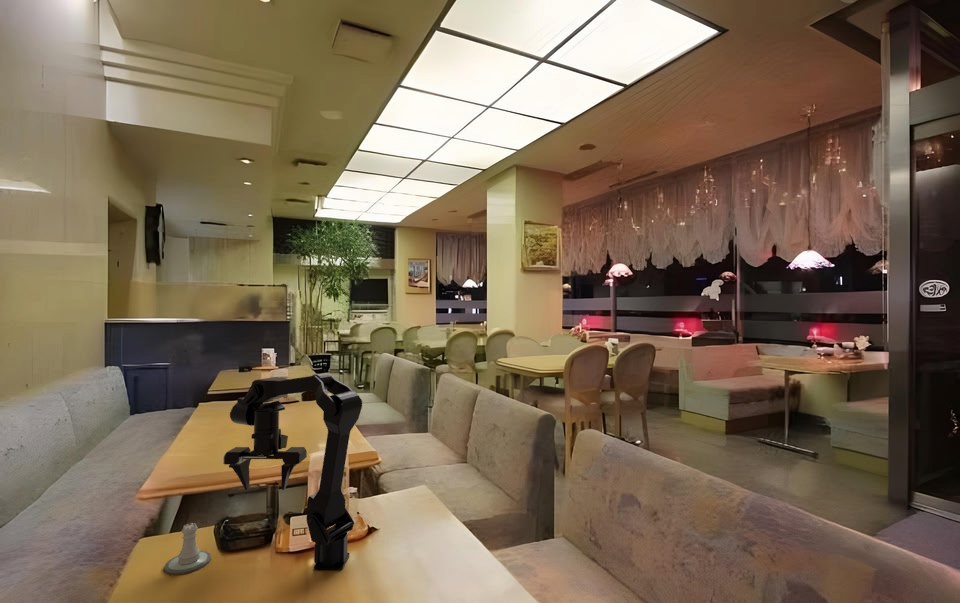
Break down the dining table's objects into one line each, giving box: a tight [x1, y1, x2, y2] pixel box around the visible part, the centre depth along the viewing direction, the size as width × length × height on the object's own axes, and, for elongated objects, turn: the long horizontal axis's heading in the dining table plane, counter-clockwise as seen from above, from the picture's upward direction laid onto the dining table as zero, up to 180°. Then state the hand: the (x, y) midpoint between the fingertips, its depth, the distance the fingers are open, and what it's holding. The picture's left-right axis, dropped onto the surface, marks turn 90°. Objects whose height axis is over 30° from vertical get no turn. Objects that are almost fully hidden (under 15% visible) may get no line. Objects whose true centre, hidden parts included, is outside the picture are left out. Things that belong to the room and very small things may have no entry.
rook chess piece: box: [177, 522, 201, 565], centre depth 105 cm, size 4×4×8 cm
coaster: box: [164, 550, 212, 576], centre depth 105 cm, size 9×9×1 cm
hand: (265, 489), depth 116 cm, fingers open, 9 cm apart
